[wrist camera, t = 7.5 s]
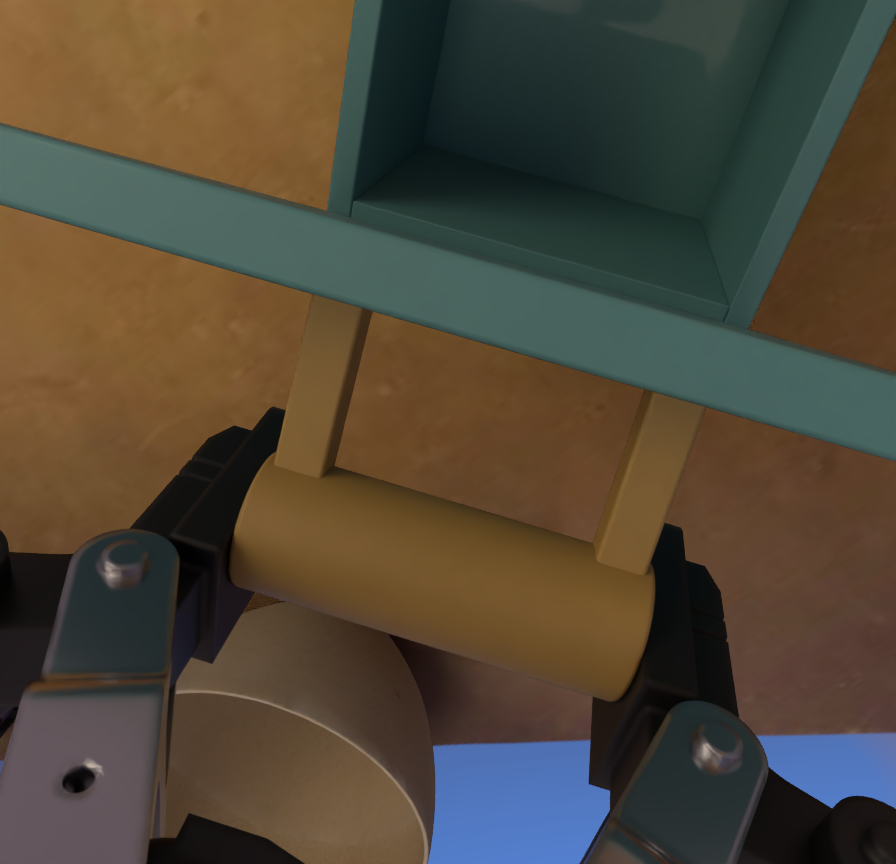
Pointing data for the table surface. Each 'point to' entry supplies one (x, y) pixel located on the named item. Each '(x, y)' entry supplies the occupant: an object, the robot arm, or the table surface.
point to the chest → (603, 133)
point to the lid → (480, 319)
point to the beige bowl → (306, 741)
